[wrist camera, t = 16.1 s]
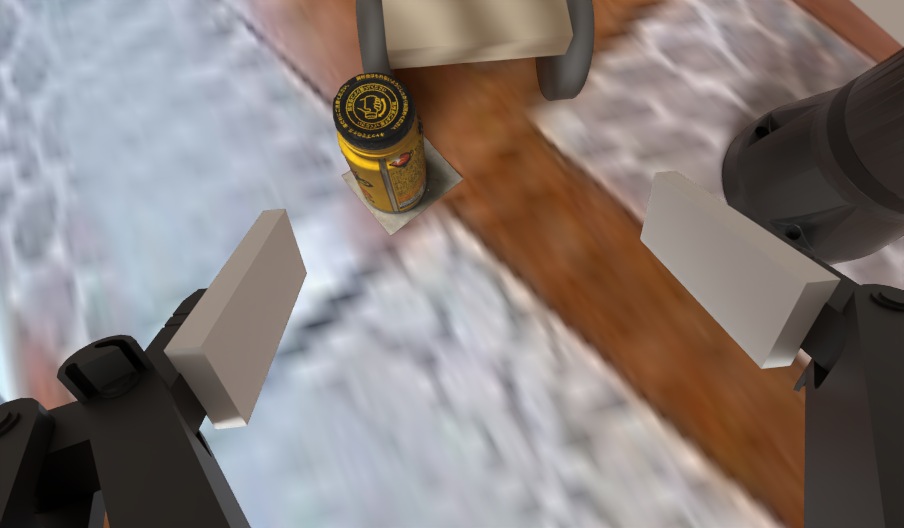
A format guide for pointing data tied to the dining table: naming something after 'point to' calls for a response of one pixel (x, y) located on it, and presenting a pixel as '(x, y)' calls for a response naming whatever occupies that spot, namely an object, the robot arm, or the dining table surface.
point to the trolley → (481, 36)
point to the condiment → (388, 150)
